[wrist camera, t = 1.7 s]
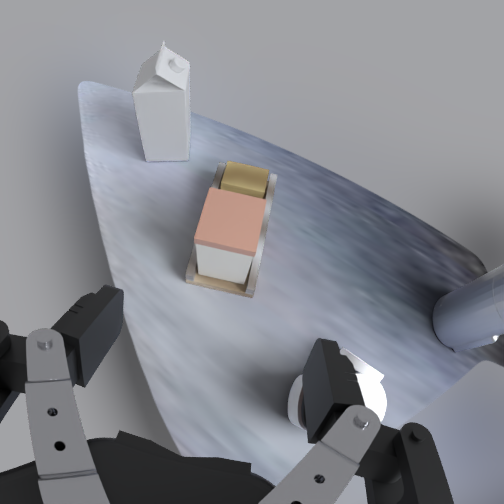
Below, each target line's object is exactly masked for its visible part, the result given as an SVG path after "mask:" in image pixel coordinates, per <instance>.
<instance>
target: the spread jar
mask: <svg viewBox="0 0 504 504" xmlns="http://www.w3.org/2000/svg"><path fill="white" fill-rule="evenodd" d="M340 354H341V355H346V356H347V357H348V359H349V360H350V361H351V362H352V363H353V366H354V369H355V370H356V371H358V372H359V373H361V374H359V373H356V374H355V375H357V379H358V382H359V385H360V389H361V392H362V395H363V399H364V402H365V406H366V407H368V408H370V409H371V410H373V411H374V412H375V413H376V414H377V415H378V417H379V419H380V422H381V421H382V419H383V417H384V414H385V410H386V395H385V391H384V389H383V387H382V385H381V384H380V383H379V382H380V381H381V379H382V378H383V377H384V375H383V374H381V373H380V372H379V371H377V370H376V369H374V368H373V367H371V366H370V365H368V364H367V363H365V362H364V361H362V360H361V359H360V358H358V357H357V356H355V355H354V354H352V353H351V352H349V351H348V350H346V349H345V348H343V347H342V349H341V350H340ZM302 375H303V374H302ZM302 375H299V376H298V377H297V378H296V379H295V381H294V383H293V385H292V388H291V390H290V394H289V398H288V417H289V420H290V421H291V423H292V424H294V425H295V426H297V427H299V428H301V429H304V430H306V431H307V425H306V414H305V404H304V394H303V384H302Z"/></svg>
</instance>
